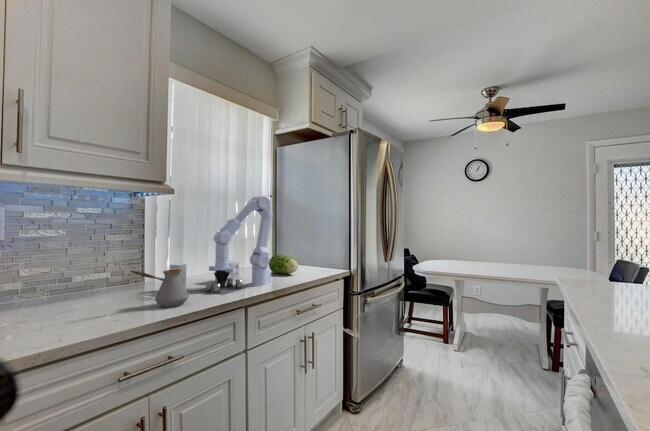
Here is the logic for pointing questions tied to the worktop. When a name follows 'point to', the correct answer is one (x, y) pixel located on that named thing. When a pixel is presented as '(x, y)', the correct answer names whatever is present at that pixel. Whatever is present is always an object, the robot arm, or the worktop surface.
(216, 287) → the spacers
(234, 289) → the mat
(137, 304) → the worktop surface
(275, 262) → the lettuce
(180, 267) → the skincare box
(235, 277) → the light bulb box
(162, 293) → the coffee pot
